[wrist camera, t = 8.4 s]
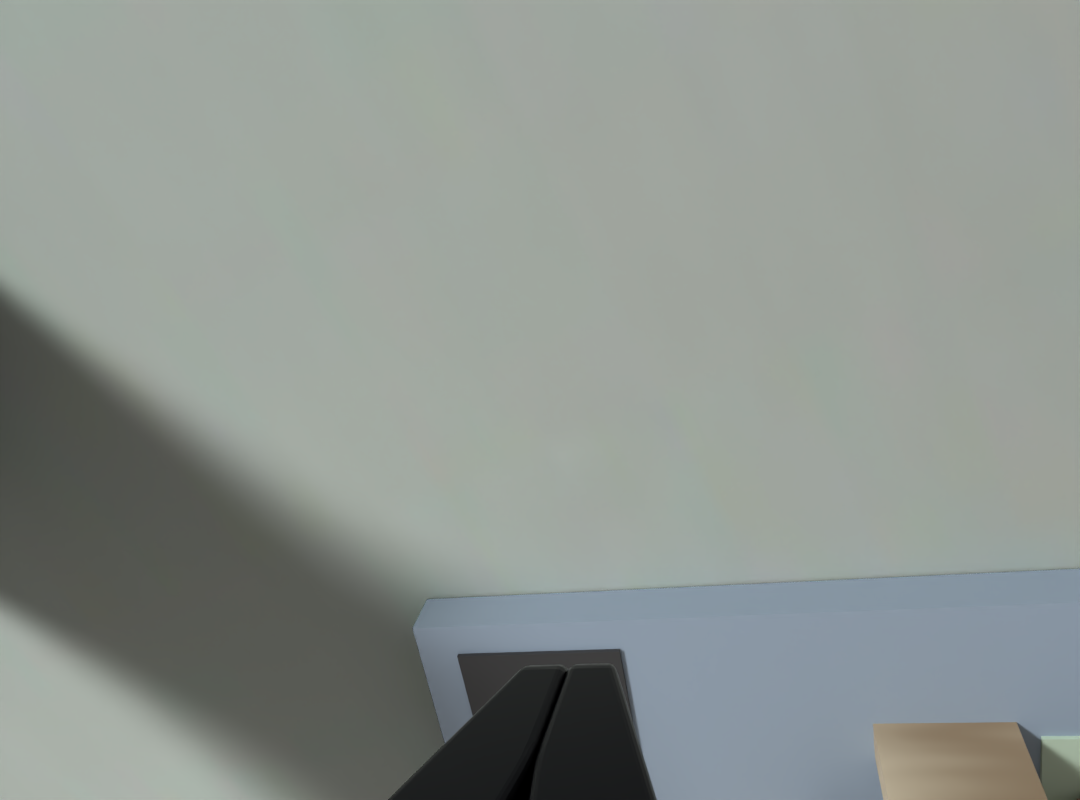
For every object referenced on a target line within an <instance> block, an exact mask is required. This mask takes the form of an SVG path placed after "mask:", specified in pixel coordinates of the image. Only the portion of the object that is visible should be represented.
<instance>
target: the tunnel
mask: <svg viewBox="0 0 1080 800" xmlns="http://www.w3.org/2000/svg"><path fill="white" fill-rule="evenodd" d="M873 733H874V749H875V760H876V765H877V770H878V775H879V780H880V785H881V790H882V796H883V800H1048V799H1047V797H1046V794H1045V792H1044V789H1043V787H1042V784H1041V782H1040V779H1039V777H1038V774H1037V772H1036V769H1035V767H1034V764H1033V762H1032V759H1031V757H1030V754H1029V752H1028V749H1027V747H1026V745H1025V742H1024V740H1023V737H1022V735H1021V732H1020V730H1019V727H1018V725H1017V722H982V723H885V724H873Z"/></svg>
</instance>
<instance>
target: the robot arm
mask: <svg viewBox="0 0 1080 800" xmlns="http://www.w3.org/2000/svg"><path fill="white" fill-rule="evenodd" d="M388 800H657V798H656V795H655V792H654V788H653V785H652V782H651V779H650V775H649V772H648V769H647V766H646V763H645V759H644V756H643V753H642V750H641V746H640V743H639V740H638V737H637V734H636V730H635V727H634V724H633V721H632V717H631V714H630V711H629V708H628V705H627V701H626V698H625V695H624V692H623V688H622V685H621V682H620V679H619V676H618V673H617V670H616V668H615V667H614V665H612V664H608V663H604V664H576V665H574V666H572V667H571V668H569V669H568V668H567V667H565V666H564V665H531V666H525V667H523V668H522V669H520V670H519V671H518V672H517V673H516V674H515V675H514V676H513V677H512V678H511V679H510V680H509V681H508V682H507V683H506V684H505V685H504V686H503V687H502V688H501V689H500V690H499V691H498V692H497V693H496V694H495V695H494V696H493V697H492V698H491V699H490V700H489V701H488V702H487V703H486V704H485V705H483V706H482V707H481V708H480V709H479V710H478V711H477V712H476V713H475V714H474V715H473V716H472V717H471V718H470V719H469V720H468V721H467V722H466V723H465V724H464V725H463V726H462V727H461V728H460V729H459V730H458V731H457V732H456V733H455V734H454V735H453V736H452V737H451V738H450V739H449V740H448V741H447V742H446V743H445V744H444V745H443V746H442V747H441V748H440V749H439V750H438V751H437V752H436V753H435V754H434V755H433V756H432V757H431V758H430V759H429V760H428V761H427V762H426V763H425V764H424V765H423V766H422V767H421V768H420V769H419V770H418V771H417V772H416V773H415V774H414V775H413V776H412V777H411V778H410V779H409V780H408V781H406V782H405V783H404V784H403V785H402V786H401V787H400V788H399V789H398V790H397V791H396V792H395V793H394V794H393V795H392V796H391V797H390V798H389V799H388Z"/></svg>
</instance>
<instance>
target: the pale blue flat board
mask: <svg viewBox="0 0 1080 800" xmlns="http://www.w3.org/2000/svg"><path fill="white" fill-rule="evenodd" d="M412 629H413V632H414V636H415V639H416V643H417V646H418V650H419V653H420V657H421V661H422V664H423V668H424V671H425V675H426V678H427V682H428V685H429V689H430V693H431V696H432V700H433V703H434V707H435V710H436V714H437V717H438V721H439V724H440V728H441V732H442V735H443V739H444V742H445V743H446V742H447V741H448V740H449V739H450V738H451V737H452V736H453V735H454V734H455V733H456V732H457V731H458V730H459V729H460V728H461V727H462V726H463V725H464V724H465V723H466V722H467V721H468V720H469V719H470V718H471V717H472V716H473V715H474V714H475V713H476V712H477V711H478V710H479V709H480V708H481V707H482V706H483V705H485V704H486V703H487V702H488V701H489V700H490V699H491V698H492V697H493V696H494V695H495V694H496V693H497V692H498V691H499V690H500V689H501V688H502V687H503V686H504V685H505V684H506V683H507V682H508V681H509V680H510V679H511V678H512V677H513V676H514V675H515V674H516V673H517V672H518V671H519V670H520V669H522V668H523V667H525V666H531V665H564V666H565V667H567V668H568V669H569V668H571V667H572V666H574V665H576V664H604V663H608V664H612V665H614V667H615V668H616V670H617V673H618V676H619V679H620V682H621V685H622V688H623V692H624V695H625V698H626V701H627V705H628V708H629V711H630V714H631V717H632V721H633V724H634V727H635V730H636V734H637V737H638V740H639V743H640V746H641V750H642V753H643V756H644V759H645V763H646V766H647V769H648V772H649V775H650V779H651V782H652V785H653V788H654V792H655V795H656V798H657V800H883V796H882V790H881V785H880V780H879V775H878V770H877V765H876V760H875V749H874V733H873V724H885V723H982V722H1017V725H1018V727H1019V730H1020V732H1021V735H1022V737H1023V740H1024V742H1025V745H1026V747H1027V749H1028V752H1029V754H1030V757H1031V759H1032V762H1033V764H1034V767H1035V769H1036V772H1037V774H1038V777H1039V779H1040V782H1041V784H1042V787H1043V789H1044V792H1045V794H1046V797H1047V799H1048V800H1077V799H1080V569H1062V570H1041V571H1019V572H998V573H977V574H955V575H934V576H912V577H891V578H870V579H848V580H827V581H806V582H784V583H763V584H742V585H720V586H699V587H678V588H656V589H635V590H614V591H592V592H571V593H549V594H528V595H507V596H485V597H464V598H443V599H427V600H426V602H425V604H424V606H423V608H422V610H421V612H420V614H419V616H418V618H417V620H416V622H415V624H414V626H413V628H412Z"/></svg>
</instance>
